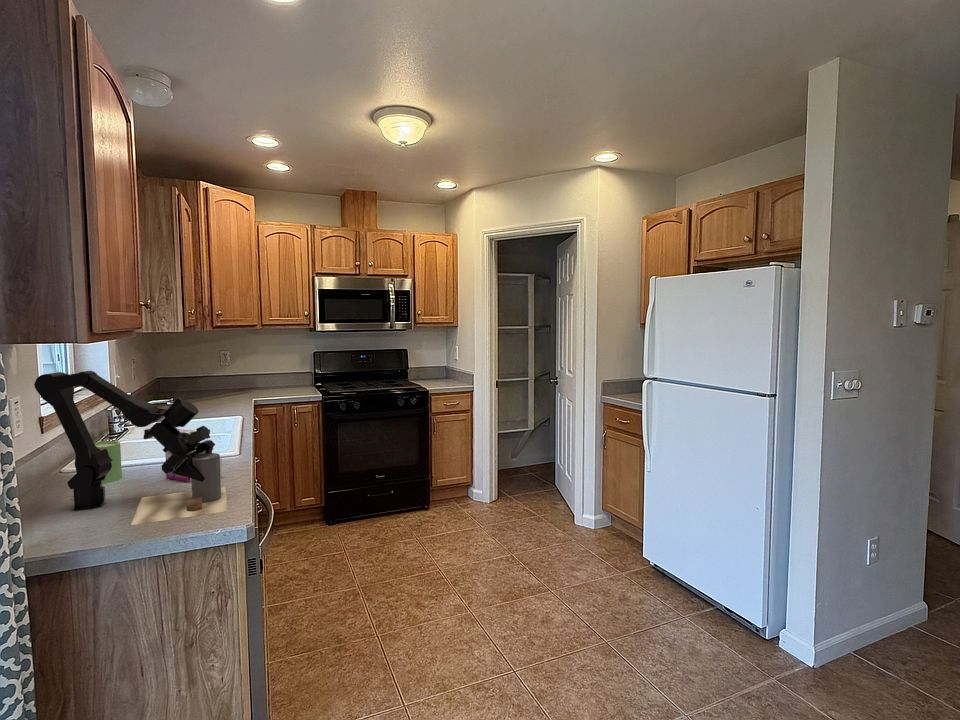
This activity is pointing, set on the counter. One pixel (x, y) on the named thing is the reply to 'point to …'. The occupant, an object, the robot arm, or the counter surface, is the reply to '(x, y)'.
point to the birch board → (174, 507)
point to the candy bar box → (170, 475)
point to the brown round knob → (194, 504)
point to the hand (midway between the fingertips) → (210, 476)
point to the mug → (115, 455)
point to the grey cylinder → (207, 477)
